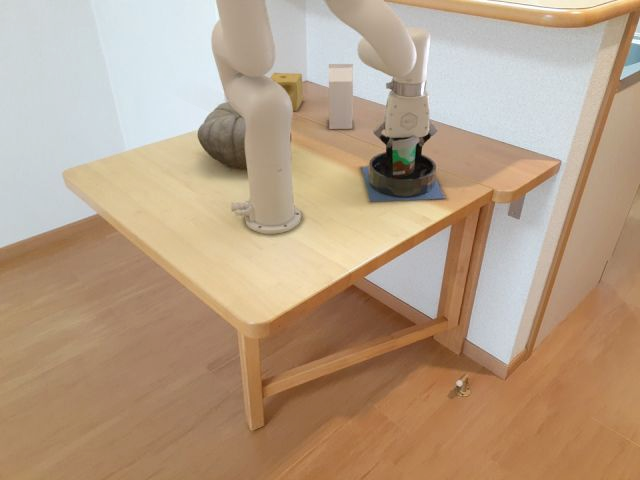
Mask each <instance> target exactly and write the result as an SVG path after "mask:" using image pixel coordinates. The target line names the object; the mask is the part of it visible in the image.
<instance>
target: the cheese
mask: <svg viewBox="0 0 640 480" xmlns="http://www.w3.org/2000/svg"><path fill="white" fill-rule="evenodd" d="M302 75H303V74H302V73H299V72H298V73H291V72H288V73H287V72H286V73H285V72H284V73H283V72H273V74H271V76H270V77H269V78H270V79H272V80H273V81H275V82H276V83H278V84H279V85H280V86H282V87H283V88H284V89H285V91H286V92H287V93H288V95H289V97H290V99H291V102H292V107H293V112H297V111H298V110H299V108H300V106H301V104H302V103H303V99H304V98H303V96H304V95H303V94H304V93H303V76H302Z"/></svg>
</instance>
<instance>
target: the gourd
mask: <svg viewBox="0 0 640 480" xmlns="http://www.w3.org/2000/svg"><path fill="white" fill-rule="evenodd" d="M245 132H246V123H245V120H244V118H243V117H242V116H241V115H240V114H239V113H237V112H236V111H235V110H234V109H233V108H232V107H231V105H230V104H229V102H228V101H227V102H222V103H220V104H218V105H217V107H215V108H214V109H213V110H212V111H210V113H209V114H208V115H207V116H206V118H205V119H204V121H203V123H201V125H200V126H199V128H198V130H197V139H198V141H199V144H200V145H201V147H202V149H203V150H204V151H205V152H206V153H207V154H208V155H209V157H211V158H212V159H213V160H215V161H217V162H218V163H220V164H222V165H223V166H226V167H228V168H230V169H242V168H244V169H247V163H246V156H245ZM290 143H292V134H291V135H290Z"/></svg>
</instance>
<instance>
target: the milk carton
mask: <svg viewBox="0 0 640 480" xmlns="http://www.w3.org/2000/svg"><path fill="white" fill-rule="evenodd" d="M353 107H354V64H353V63H328V125H329V126H328V129H329V130H352V129H353V114H354V113H353V111H354V110H353Z"/></svg>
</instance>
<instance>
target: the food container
mask: <svg viewBox="0 0 640 480" xmlns="http://www.w3.org/2000/svg"><path fill="white" fill-rule="evenodd" d="M418 142H419V137H415V135H414V136H413V137H411V138H394V141H392V150H393V178H398V177H404V176H407V175H409V174H411V173H412V172H413V171H414V166H415V155H416V145H417V143H418Z"/></svg>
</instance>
